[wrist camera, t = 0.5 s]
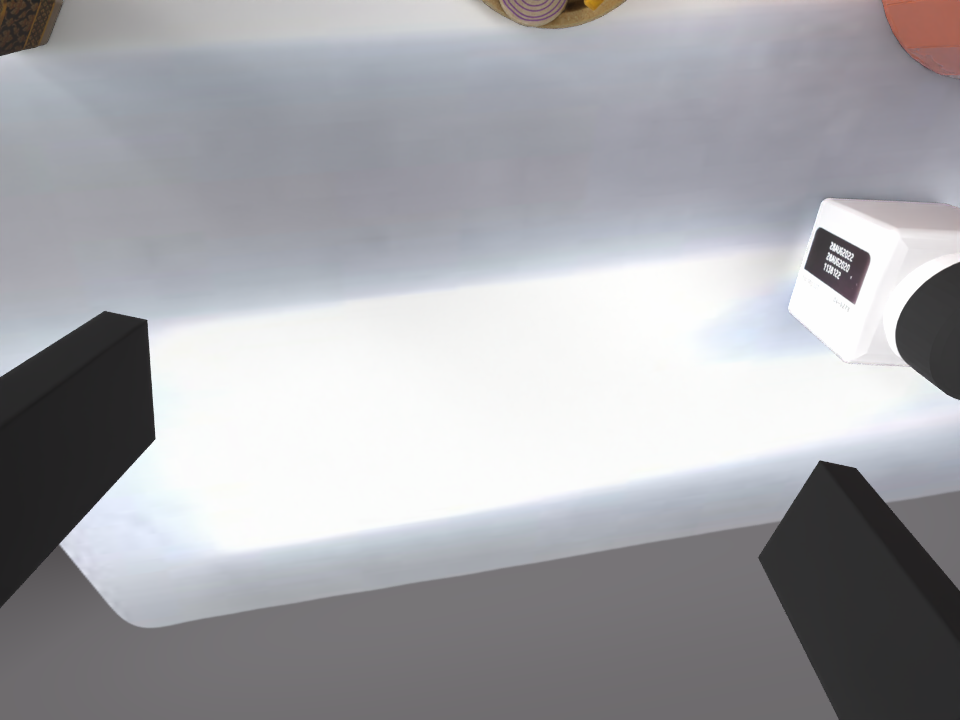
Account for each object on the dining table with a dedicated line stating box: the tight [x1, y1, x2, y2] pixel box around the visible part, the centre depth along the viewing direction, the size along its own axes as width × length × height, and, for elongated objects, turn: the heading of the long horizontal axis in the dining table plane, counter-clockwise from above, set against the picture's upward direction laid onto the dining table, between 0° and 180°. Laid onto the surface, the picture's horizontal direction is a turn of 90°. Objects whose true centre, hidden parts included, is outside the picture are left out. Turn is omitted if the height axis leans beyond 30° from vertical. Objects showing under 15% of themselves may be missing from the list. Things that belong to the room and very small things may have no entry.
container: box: [788, 198, 960, 400], centre depth 31 cm, size 8×8×13 cm
